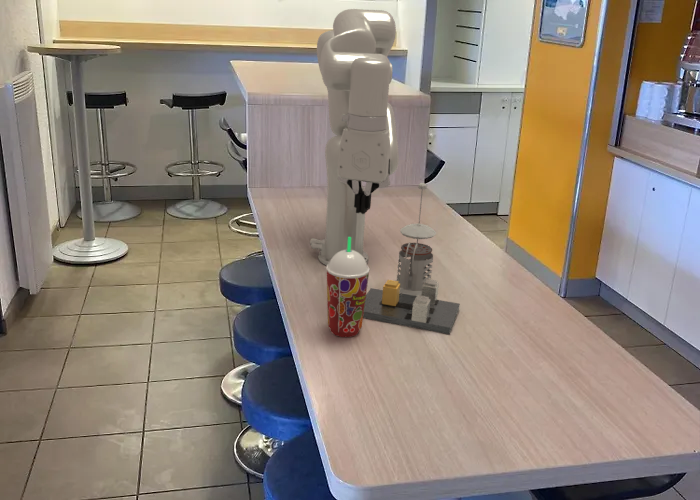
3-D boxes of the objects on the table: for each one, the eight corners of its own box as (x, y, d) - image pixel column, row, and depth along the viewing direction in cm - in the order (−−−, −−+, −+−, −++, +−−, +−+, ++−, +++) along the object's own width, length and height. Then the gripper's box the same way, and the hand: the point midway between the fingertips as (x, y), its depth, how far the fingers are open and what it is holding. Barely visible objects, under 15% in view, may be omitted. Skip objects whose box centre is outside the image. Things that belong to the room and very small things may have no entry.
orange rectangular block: (381, 303, 144) (383, 284, 142) (385, 298, 146) (386, 278, 145) (395, 306, 143) (397, 286, 141) (398, 300, 146) (400, 281, 144)
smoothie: (361, 343, 131) (367, 247, 124) (319, 337, 132) (322, 242, 125) (368, 324, 138) (375, 232, 131) (329, 319, 140) (333, 227, 133)
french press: (438, 282, 160) (449, 180, 151) (427, 302, 150) (438, 193, 141) (398, 275, 163) (406, 174, 154) (384, 294, 153) (392, 187, 144)
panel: (354, 316, 142) (356, 289, 139) (370, 294, 152) (372, 269, 150) (449, 334, 136) (452, 307, 134) (458, 309, 147) (462, 284, 145)
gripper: (325, 122, 132) (321, 211, 138) (399, 130, 128) (392, 222, 134) (337, 116, 138) (333, 202, 145) (408, 123, 135) (401, 211, 141)
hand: (362, 211), depth 140 cm, fingers closed
